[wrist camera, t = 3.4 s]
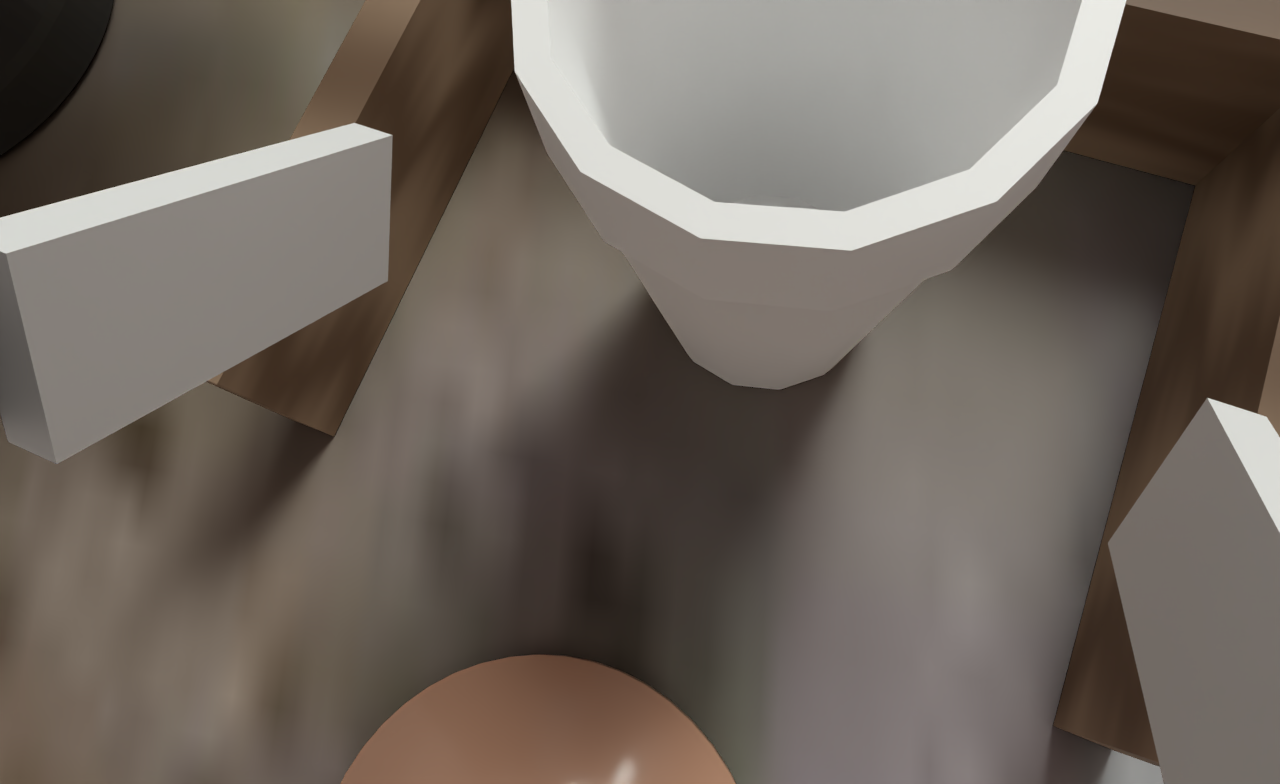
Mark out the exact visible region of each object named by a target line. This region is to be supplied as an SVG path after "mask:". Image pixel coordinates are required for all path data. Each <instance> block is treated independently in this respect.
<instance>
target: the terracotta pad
mask: <svg viewBox="0 0 1280 784" xmlns="http://www.w3.org/2000/svg"><path fill="white" fill-rule="evenodd" d="M340 784H736V782H735V780H734V778H733V776H732V774H731V772H730V770H729V768H728V767H727V765H726V764H725V762H724V761H723V759H722V758H721V756H720V755H719V753H718V751H717V750H716V748H715V747H714V745H713V744H712V743H711V742H710V740H709V739H708V738H707V737H706V736H705V734H704V733H703V732H702V731H701V730H700V729H699V727H698V726H697V725H696V724H695V723H694V721H693V720H692V719H690V718H689V717H688V716H687V715H686V714H685V713H684V712H683V711H682V710H681V709H680V708H678V707H677V706H676V705H675V704H674V703H673V702H672V701H671V700H669V699H668V698H667V697H665V696H664V695H662V694H661V693H659V692H658V691H657V690H655V689H654V688H652V687H651V686H649V685H648V684H647V683H645V682H643V681H641V680H639V679H637V678H635V677H633V676H631V675H629V674H627V673H625V672H623V671H621V670H619V669H616V668H613V667H610V666H607V665H604V664H602V663H599V662H596V661H592V660H587V659H582V658H577V657H572V656H565V655H549V654H534V655H522V656H512V657H507V658H502V659H498V660H493V661H489V662H484V663H480V664H477V665H475V666H472V667H469V668H467V669H464V670H461V671H458V672H456V673H453V674H452V675H450V676H448V677H446V678H444V679H442V680H440V681H438V682H436V683H435V684H433V685H431V686H429V687H427V688H426V689H425V690H423V691H422V692H420V693H419V694H418V695H416V696H415V697H413V698H412V699H411V700H409V701H408V702H406V703H405V704H404V705H403V706H402V707H401V708H400V709H398V710H397V711H396V712H395V713H394V714H393V715H392V716H391V717H390V718H389V719H388V720H386V721H385V722H384V723H383V724H382V725H381V727H380V728H379V729H378V730H377V731H376V732H375V734H374V735H373V736H372V737H371V738H370V739H369V741H368V742H367V743H366V744H365V745H364V747H363V748H362V749H361V751H360V752H359V754H358V755H357V757H356V758H355V760H354V761H353V763H352V764H351V766H350V767H349V769H348V770H347V772H346V774H345V776H344V778H343V780H342V782H341V783H340Z"/></svg>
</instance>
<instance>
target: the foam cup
mask: <svg viewBox="0 0 1280 784" xmlns="http://www.w3.org/2000/svg"><path fill="white" fill-rule="evenodd" d="M1125 4H1126V0H511V7H512V28H513V48H514V68H515V74H516V76H517V79H518V81H519V84H520V86H521V89H522V91H523V94H524V96H525V99H526V102H527V104H528V107H529V109H530V112H531V114H532V117H533V119H534V122H535V124H536V127H537V129H538V132H539V134H540V137H541V140H542V142H543V145H544V147H545V150H546V152H547V154H548V156H549V157H550V159H551V160H552V162H553V164H554V165H555V167H556V168H557V170H558V171H559V173H560V174H561V176H562V178H563V179H564V181H565V182H566V184H567V185H568V187H569V188H570V190H571V191H572V193H573V195H574V196H575V198H576V199H577V201H578V202H579V204H580V205H581V207H582V209H583V210H584V212H585V213H586V215H587V216H588V218H589V219H590V221H591V222H592V224H593V226H594V227H595V229H596V230H597V232H598V233H599V235H600V236H601V238H602V240H603V241H604V242H606V243H607V244H609V245H611V246H613V247H614V248H616V249H618V250H620V251H621V252H622V253H623V254H624V256H625V257H626V259H627V261H628V262H629V264H630V265H631V267H632V268H633V270H634V272H635V273H636V275H637V276H638V278H639V279H640V281H641V283H642V284H643V286H644V287H645V289H646V290H647V292H648V294H649V295H650V297H651V298H652V300H653V301H654V303H655V304H656V306H657V308H658V309H659V311H660V312H661V314H662V315H663V317H664V319H665V320H666V322H667V323H668V325H669V326H670V328H671V329H672V331H673V332H674V334H675V336H676V337H677V339H678V340H679V342H680V343H681V345H682V346H683V348H684V349H685V351H686V352H687V354H688V356H689V357H690V358H691V359H692V361H693V362H695V363H696V364H698V365H700V366H701V367H703V368H705V369H706V370H708V371H710V372H711V373H713V374H715V375H716V376H718V377H720V378H721V379H723V380H725V381H726V382H728V383H730V384H732V385H738V386H747V387H757V388H766V389H776V390H781V389H784V388H787V387H789V386H792V385H795V384H798V383H801V382H804V381H807V380H810V379H813V378H816V377H819V376H822V375H825V374H826V373H827V372H828V371H830V370H831V369H832V368H833V367H834V366H835V365H836V364H837V363H838V362H839V361H840V360H841V359H842V358H843V357H844V356H845V355H846V354H847V353H848V352H850V351H851V350H852V349H853V348H854V347H855V346H856V345H857V344H858V343H859V342H860V341H861V340H862V339H863V338H864V337H865V336H866V335H867V334H868V333H869V332H871V331H872V330H873V329H874V328H875V327H876V326H877V325H878V324H879V323H880V322H881V321H882V320H883V319H884V318H885V317H886V316H887V315H888V314H889V313H891V312H892V311H893V310H894V309H895V308H896V307H897V306H898V305H899V304H900V303H901V302H902V301H903V300H904V299H905V298H906V297H907V296H908V295H909V294H910V293H912V292H913V291H914V290H915V289H916V288H917V287H918V286H919V285H920V284H921V283H922V282H923V281H924V280H925V279H928V278H930V277H933V276H936V275H939V274H942V273H945V272H948V271H951V270H953V269H954V268H955V267H956V266H957V265H958V264H959V263H960V262H961V261H962V260H963V259H964V258H965V257H966V256H967V255H968V254H969V253H970V252H971V251H972V250H973V249H974V248H975V247H976V246H977V245H978V244H979V243H980V242H981V241H982V240H983V239H984V238H985V237H986V236H987V235H988V234H989V233H990V232H991V231H992V230H993V229H994V228H995V227H996V226H997V225H998V224H999V223H1001V222H1002V221H1003V220H1004V219H1005V218H1006V217H1007V216H1008V215H1009V214H1010V213H1011V212H1012V211H1013V210H1014V209H1015V208H1016V207H1017V206H1018V205H1019V204H1020V203H1021V202H1022V201H1023V200H1024V199H1025V198H1026V197H1027V196H1028V195H1029V194H1030V193H1031V192H1032V191H1033V190H1034V189H1035V188H1036V187H1037V186H1038V185H1039V183H1040V182H1041V180H1042V179H1043V178H1044V176H1045V175H1046V174H1047V172H1048V171H1049V169H1050V168H1051V167H1052V165H1053V164H1054V162H1055V161H1056V160H1057V158H1058V157H1059V156H1060V154H1061V153H1062V151H1063V150H1064V149H1065V147H1066V146H1067V145H1068V143H1069V142H1070V140H1071V139H1072V138H1073V136H1074V135H1075V134H1076V132H1077V131H1078V129H1079V128H1080V127H1081V125H1082V124H1083V123H1084V121H1085V120H1086V118H1087V117H1088V116H1089V114H1090V113H1091V112H1092V110H1093V109H1094V107H1095V106H1096V105H1097V103H1098V100H1099V96H1100V93H1101V89H1102V86H1103V82H1104V78H1105V75H1106V71H1107V68H1108V64H1109V61H1110V57H1111V54H1112V50H1113V46H1114V43H1115V39H1116V36H1117V32H1118V29H1119V25H1120V21H1121V18H1122V14H1123V11H1124V7H1125Z"/></svg>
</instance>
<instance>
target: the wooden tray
mask: <svg viewBox="0 0 1280 784" xmlns="http://www.w3.org/2000/svg"><path fill="white" fill-rule="evenodd" d="M513 69H514V48H513V28H512V7H511V0H366V1H365V2H364V4H363V6H362V8H361V10H360V11H359V13H358V15H357V17H356V19H355V21H354V22H353V24H352V26H351V28H350V30H349V32H348V33H347V35H346V37H345V39H344V41H343V43H342V44H341V46H340V48H339V50H338V52H337V54H336V55H335V57H334V59H333V61H332V63H331V65H330V66H329V68H328V70H327V72H326V74H325V75H324V77H323V79H322V81H321V83H320V85H319V86H318V88H317V90H316V92H315V94H314V96H313V97H312V99H311V101H310V103H309V105H308V107H307V108H306V110H305V112H304V114H303V116H302V118H301V119H300V121H299V123H298V125H297V127H296V129H295V130H294V132H293V134H292V136H291V138H290V139H289V140H292V139H296V138H300V137H303V136H307V135H311V134H315V133H318V132H322V131H326V130H330V129H333V128H337V127H341V126H345V125H348V124H352V123H356V124H359V125H362V126H366V127H369V128H372V129H375V130H378V131H381V132H384V133H387V134H390V135H393V138H392V169H391V201H390V233H389V264H388V281H387V282H385V283H383V284H381V285H380V286H378V287H376V288H374V289H372V290H371V291H369V292H367V293H365V294H363V295H362V296H360V297H358V298H356V299H354V300H352V301H351V302H349V303H347V304H345V305H343V306H342V307H340V308H338V309H336V310H334V311H333V312H331V313H329V314H327V315H325V316H324V317H322V318H320V319H318V320H316V321H315V322H313V323H311V324H309V325H307V326H306V327H304V328H302V329H300V330H298V331H296V332H295V333H293V334H291V335H289V336H287V337H286V338H284V339H282V340H280V341H278V342H277V343H275V344H273V345H271V346H269V347H268V348H266V349H264V350H262V351H260V352H259V353H257V354H255V355H253V356H251V357H249V358H248V359H246V360H244V361H242V362H240V363H239V364H237V365H235V366H233V367H231V368H230V369H228V370H226V371H224V372H222V373H221V374H219V375H217V376H215V377H213V378H212V379H210V380H208V381H206V382H208V383H210V384H213V385H215V386H217V387H219V388H222V389H224V390H226V391H228V392H231V393H233V394H235V395H237V396H240V397H242V398H244V399H246V400H249V401H251V402H253V403H255V404H258V405H260V406H262V407H264V408H267V409H269V410H271V411H273V412H276V413H278V414H280V415H282V416H285V417H287V418H289V419H291V420H294V421H296V422H299V423H301V424H304V425H306V426H309V427H311V428H314V429H316V430H318V431H321V432H323V433H326V434H328V435H331V436H333V437H334V435H335V433H336V431H337V429H338V427H339V425H340V423H341V421H342V419H343V417H344V415H345V413H346V411H347V409H348V407H349V405H350V403H351V401H352V399H353V397H354V395H355V392H356V390H357V388H358V386H359V384H360V382H361V380H362V378H363V376H364V374H365V372H366V370H367V368H368V366H369V364H370V362H371V360H372V358H373V356H374V354H375V352H376V349H377V347H378V345H379V343H380V341H381V339H382V337H383V335H384V333H385V331H386V329H387V327H388V325H389V323H390V321H391V319H392V317H393V315H394V313H395V311H396V309H397V306H398V304H399V302H400V300H401V298H402V296H403V294H404V292H405V290H406V288H407V286H408V284H409V282H410V280H411V278H412V276H413V274H414V272H415V270H416V268H417V266H418V263H419V261H420V259H421V257H422V255H423V253H424V251H425V249H426V247H427V245H428V243H429V241H430V239H431V237H432V235H433V233H434V231H435V229H436V227H437V225H438V223H439V220H440V218H441V216H442V214H443V212H444V210H445V208H446V206H447V204H448V202H449V200H450V198H451V196H452V194H453V192H454V190H455V188H456V186H457V184H458V182H459V180H460V177H461V175H462V173H463V171H464V169H465V167H466V165H467V163H468V161H469V159H470V157H471V155H472V153H473V151H474V149H475V147H476V145H477V143H478V141H479V139H480V137H481V134H482V132H483V130H484V128H485V126H486V124H487V122H488V120H489V118H490V116H491V114H492V112H493V110H494V108H495V106H496V104H497V102H498V100H499V98H500V96H501V94H502V91H503V89H504V87H505V85H506V83H507V81H508V79H509V77H510V75H511V73H512V71H513ZM1064 150H1065V151H1068V152H1072V153H1076V154H1079V155H1083V156H1087V157H1091V158H1094V159H1098V160H1102V161H1106V162H1109V163H1113V164H1117V165H1121V166H1124V167H1128V168H1132V169H1136V170H1139V171H1143V172H1147V173H1151V174H1154V175H1158V176H1162V177H1166V178H1169V179H1173V180H1177V181H1181V182H1184V183H1188V184H1192V185H1195V189H1194V193H1193V197H1192V200H1191V204H1190V208H1189V212H1188V216H1187V219H1186V223H1185V227H1184V231H1183V235H1182V238H1181V242H1180V246H1179V250H1178V254H1177V257H1176V261H1175V265H1174V269H1173V273H1172V276H1171V280H1170V284H1169V288H1168V292H1167V295H1166V299H1165V303H1164V307H1163V311H1162V314H1161V318H1160V322H1159V326H1158V330H1157V333H1156V337H1155V341H1154V345H1153V349H1152V352H1151V356H1150V360H1149V364H1148V368H1147V371H1146V375H1145V379H1144V383H1143V387H1142V390H1141V394H1140V398H1139V402H1138V406H1137V409H1136V413H1135V417H1134V421H1133V425H1132V428H1131V432H1130V436H1129V440H1128V444H1127V447H1126V451H1125V455H1124V459H1123V463H1122V466H1121V470H1120V474H1119V478H1118V482H1117V485H1116V489H1115V493H1114V497H1113V501H1112V504H1111V508H1110V512H1109V516H1108V520H1107V523H1106V527H1105V531H1104V535H1103V539H1102V542H1101V546H1100V550H1099V554H1098V558H1097V561H1096V565H1095V569H1094V573H1093V577H1092V580H1091V584H1090V588H1089V592H1088V596H1087V599H1086V603H1085V607H1084V611H1083V615H1082V618H1081V622H1080V626H1079V630H1078V634H1077V637H1076V641H1075V645H1074V649H1073V653H1072V656H1071V660H1070V664H1069V668H1068V672H1067V675H1066V679H1065V683H1064V687H1063V691H1062V694H1061V698H1060V702H1059V706H1058V710H1057V713H1056V717H1055V721H1054V725H1053V726H1054V727H1057V728H1059V729H1062V730H1064V731H1067V732H1069V733H1072V734H1074V735H1077V736H1079V737H1082V738H1084V739H1087V740H1089V741H1092V742H1094V743H1097V744H1099V745H1102V746H1104V747H1107V748H1109V749H1112V750H1114V751H1117V752H1120V753H1123V754H1125V755H1128V756H1131V757H1134V758H1137V759H1140V760H1142V761H1145V762H1148V763H1151V764H1154V765H1156V766H1159V767H1160V765H1159V760H1158V756H1157V752H1156V748H1155V743H1154V739H1153V735H1152V730H1151V726H1150V722H1149V717H1148V713H1147V709H1146V705H1145V700H1144V696H1143V692H1142V687H1141V683H1140V679H1139V675H1138V670H1137V666H1136V662H1135V657H1134V653H1133V649H1132V645H1131V640H1130V636H1129V632H1128V627H1127V623H1126V619H1125V614H1124V610H1123V606H1122V602H1121V597H1120V593H1119V589H1118V584H1117V580H1116V576H1115V572H1114V567H1113V563H1112V559H1111V554H1110V550H1109V546H1108V542H1109V540H1110V539H1111V537H1112V536H1113V534H1114V533H1115V532H1116V530H1117V529H1118V527H1119V526H1120V524H1121V523H1122V521H1123V520H1124V518H1125V517H1126V516H1127V514H1128V513H1129V511H1130V510H1131V508H1132V507H1133V505H1134V504H1135V502H1136V501H1137V499H1138V498H1139V497H1140V495H1141V494H1142V492H1143V491H1144V489H1145V488H1146V486H1147V485H1148V483H1149V482H1150V480H1151V479H1152V478H1153V476H1154V475H1155V473H1156V472H1157V470H1158V469H1159V467H1160V466H1161V464H1162V463H1163V462H1164V460H1165V459H1166V457H1167V456H1168V454H1169V453H1170V451H1171V450H1172V448H1173V447H1174V445H1175V444H1176V443H1177V441H1178V440H1179V438H1180V437H1181V435H1182V434H1183V432H1184V431H1185V429H1186V428H1187V426H1188V425H1189V424H1190V422H1191V421H1192V419H1193V418H1194V416H1195V415H1196V413H1197V412H1198V410H1199V409H1200V408H1201V406H1202V405H1203V403H1204V402H1205V400H1206V399H1207V398H1210V399H1213V400H1216V401H1219V402H1222V403H1225V404H1228V405H1232V406H1235V407H1238V408H1241V409H1244V410H1247V411H1250V412H1253V413H1256V414H1260V415H1263V416H1266V417H1267V418H1268V420H1269V421H1270V423H1271V424H1272V426H1273V428H1274V429H1275V431H1276V432H1277V434H1278V435H1279V437H1280V0H1126V4H1125V7H1124V11H1123V14H1122V18H1121V21H1120V25H1119V29H1118V32H1117V36H1116V39H1115V43H1114V46H1113V50H1112V54H1111V57H1110V61H1109V64H1108V68H1107V71H1106V75H1105V78H1104V82H1103V86H1102V89H1101V93H1100V96H1099V100H1098V103H1097V105H1096V106H1095V107H1094V109H1093V110H1092V112H1091V113H1090V114H1089V116H1088V117H1087V118H1086V120H1085V121H1084V123H1083V124H1082V125H1081V127H1080V128H1079V129H1078V131H1077V132H1076V134H1075V135H1074V136H1073V138H1072V139H1071V140H1070V142H1069V143H1068V145H1067V146H1066V147H1065V149H1064Z"/></svg>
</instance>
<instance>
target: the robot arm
mask: <svg viewBox="0 0 1280 784" xmlns="http://www.w3.org/2000/svg"><path fill="white" fill-rule="evenodd" d="M112 5H113V0H0V155H2V154H3V153H5V152H6V151H8V150H9V149H11V148H12V147H13V146H15V145H16V144H17V143H19V142H20V141H21V140H23V139H24V138H25V137H26V136H28V135H29V134H30V133H31V132H32V131H34V130H35V129H36V128H37V127H38V126H39V125H40V124H41V123H42V122H43V121H45V120H46V119H47V118H48V117H49V116H50V115H51V114H52V113H53V111H54V110H55V109H56V108H57V107H58V106H59V105H60V104H61V103H62V102H63V100H64V99H65V98H66V97H67V96H68V94H69V93H70V92H71V91H72V89H73V88H74V87H75V85H76V84H77V83H78V81H79V80H80V78H81V77H82V75H83V74H84V72H85V71H86V69H87V67H88V65H89V64H90V62H91V60H92V59H93V57H94V55H95V53H96V51H97V49H98V47H99V45H100V42H101V40H102V37H103V35H104V33H105V30H106V27H107V24H108V21H109V17H110V13H111V9H112ZM392 138H393V135H390V134H387V133H384V132H381V131H378V130H375V129H372V128H369V127H366V126H362V125H359V124H356V123H352V124H348V125H345V126H341V127H337V128H333V129H330V130H326V131H322V132H318V133H315V134H311V135H307V136H303V137H300V138H296V139H292V140H289V141H285V142H281V143H277V144H274V145H270V146H266V147H262V148H259V149H255V150H251V151H247V152H244V153H240V154H236V155H232V156H229V157H225V158H221V159H217V160H214V161H210V162H206V163H202V164H199V165H195V166H191V167H188V168H184V169H180V170H176V171H173V172H169V173H165V174H161V175H158V176H154V177H150V178H146V179H143V180H139V181H135V182H131V183H128V184H124V185H120V186H116V187H113V188H109V189H105V190H101V191H98V192H94V193H90V194H87V195H83V196H79V197H75V198H72V199H68V200H64V201H60V202H57V203H53V204H49V205H45V206H42V207H38V208H34V209H30V210H27V211H23V212H19V213H15V214H12V215H8V216H4V217H0V415H1V418H2V422H3V426H4V429H5V433H6V437H7V440H8V442H10V443H12V444H14V445H16V446H18V447H20V448H23V449H25V450H27V451H29V452H31V453H33V454H36V455H38V456H40V457H42V458H44V459H47V460H49V461H51V462H53V463H55V464H58V463H60V462H62V461H63V460H65V459H67V458H69V457H71V456H72V455H74V454H76V453H78V452H80V451H81V450H83V449H85V448H87V447H89V446H90V445H92V444H94V443H96V442H98V441H100V440H101V439H103V438H105V437H107V436H109V435H110V434H112V433H114V432H116V431H118V430H119V429H121V428H123V427H125V426H127V425H128V424H130V423H132V422H134V421H136V420H137V419H139V418H141V417H143V416H145V415H146V414H148V413H150V412H152V411H154V410H156V409H157V408H159V407H161V406H163V405H165V404H166V403H168V402H170V401H172V400H174V399H175V398H177V397H179V396H181V395H183V394H184V393H186V392H188V391H190V390H192V389H193V388H195V387H197V386H199V385H201V384H203V383H204V382H206V381H208V380H210V379H212V378H213V377H215V376H217V375H219V374H221V373H222V372H224V371H226V370H228V369H230V368H231V367H233V366H235V365H237V364H239V363H240V362H242V361H244V360H246V359H248V358H249V357H251V356H253V355H255V354H257V353H259V352H260V351H262V350H264V349H266V348H268V347H269V346H271V345H273V344H275V343H277V342H278V341H280V340H282V339H284V338H286V337H287V336H289V335H291V334H293V333H295V332H296V331H298V330H300V329H302V328H304V327H306V326H307V325H309V324H311V323H313V322H315V321H316V320H318V319H320V318H322V317H324V316H325V315H327V314H329V313H331V312H333V311H334V310H336V309H338V308H340V307H342V306H343V305H345V304H347V303H349V302H351V301H352V300H354V299H356V298H358V297H360V296H362V295H363V294H365V293H367V292H369V291H371V290H372V289H374V288H376V287H378V286H380V285H381V284H383V283H385V282H387V281H388V264H389V233H390V201H391V169H392ZM1108 546H1109V550H1110V554H1111V559H1112V563H1113V567H1114V572H1115V576H1116V580H1117V584H1118V589H1119V593H1120V597H1121V602H1122V606H1123V610H1124V614H1125V619H1126V623H1127V627H1128V632H1129V636H1130V640H1131V645H1132V649H1133V653H1134V657H1135V662H1136V666H1137V670H1138V675H1139V679H1140V683H1141V687H1142V692H1143V696H1144V700H1145V705H1146V709H1147V713H1148V717H1149V722H1150V726H1151V730H1152V735H1153V739H1154V743H1155V748H1156V752H1157V756H1158V760H1159V765H1160V769H1161V773H1162V778H1163V782H1164V784H1280V437H1279V435H1278V434H1277V432H1276V431H1275V429H1274V428H1273V426H1272V424H1271V423H1270V421H1269V420H1268V418H1267V417H1266V416H1263V415H1260V414H1256V413H1253V412H1250V411H1247V410H1244V409H1241V408H1238V407H1235V406H1232V405H1228V404H1225V403H1222V402H1219V401H1216V400H1213V399H1210V398H1207V399H1206V400H1205V402H1204V403H1203V405H1202V406H1201V408H1200V409H1199V410H1198V412H1197V413H1196V415H1195V416H1194V418H1193V419H1192V421H1191V422H1190V424H1189V425H1188V426H1187V428H1186V429H1185V431H1184V432H1183V434H1182V435H1181V437H1180V438H1179V440H1178V441H1177V443H1176V444H1175V445H1174V447H1173V448H1172V450H1171V451H1170V453H1169V454H1168V456H1167V457H1166V459H1165V460H1164V462H1163V463H1162V464H1161V466H1160V467H1159V469H1158V470H1157V472H1156V473H1155V475H1154V476H1153V478H1152V479H1151V480H1150V482H1149V483H1148V485H1147V486H1146V488H1145V489H1144V491H1143V492H1142V494H1141V495H1140V497H1139V498H1138V499H1137V501H1136V502H1135V504H1134V505H1133V507H1132V508H1131V510H1130V511H1129V513H1128V514H1127V516H1126V517H1125V518H1124V520H1123V521H1122V523H1121V524H1120V526H1119V527H1118V529H1117V530H1116V532H1115V533H1114V534H1113V536H1112V537H1111V539H1110V540H1109V542H1108Z"/></svg>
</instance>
